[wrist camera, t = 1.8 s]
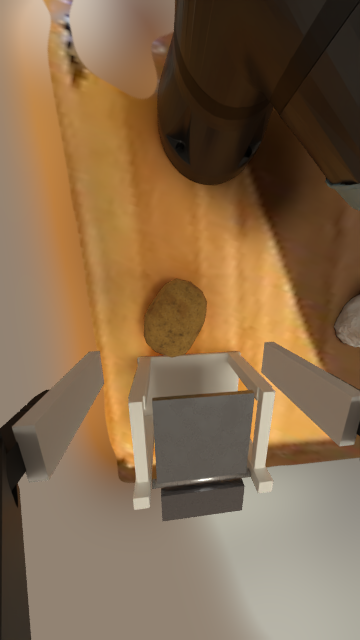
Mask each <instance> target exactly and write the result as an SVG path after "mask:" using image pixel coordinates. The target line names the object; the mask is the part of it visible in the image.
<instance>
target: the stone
mask: <svg viewBox="0 0 360 640" xmlns="http://www.w3.org/2000/svg"><path fill="white" fill-rule="evenodd" d="M334 328H335V330H336V334H337V335H336V336H337V337H338V338H339V339H340V340H341V341H342V342H343V343H347V344H349V345H351V346H354V347H360V294H359V295H357V296H356V297H354V298H352V299H351V300H350V301H349V302H347V303H346V305H345V306H344V308H343V309H342V311H341V313H340V315H339V317H338V318H337V321H336V323H335V326H334Z"/></svg>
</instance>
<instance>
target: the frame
mask: <svg viewBox="0 0 360 640" xmlns="http://www.w3.org/2000/svg"><path fill="white" fill-rule="evenodd" d="M137 360H138V367H137V370H136V374H135V377H134V380H133V384H132V387H131V390H130V394H129V397H128V398H129V413H130V423H131V432H132V442H133V452H134V461H135V471H136V482H135V489H134V496H133V502H134V509H135V510H136V509H143V508H149V507H150V496H151V479H152V463H153V447H154V423H153V408H152V398H155V397H168V396H181V395H194V394H207V393H220V392H233V391H238V379H239V378H240V379H241V381H242V382H243V383H244V385H245V386H246V387H247V389H248V390H253V392H254V393H255V395H254V398H255V399H256V400H258V404H257V413H256V422H255V430H254V439H253V443H252V441H251V439H250V442H249V451H248V461H247V468H249V469H250V472H251V478H252V481H253V483H254V485H255V487H256V490H257V492H258V493H264V492H271V491H272V485H273V480H272V478H271V476H270V474H269V472H268V470H267V469H266V467H265V462H266V455H267V448H268V441H269V434H270V426H271V419H272V412H273V405H274V398H275V391H274V390H273V388H272V386H271V385H270V384H269V383H268V382H267V381H266V380H265V379H264V378H263V377H262V376H261V375H260V374H259V373H258V372H257V371H256V370H255V369H254V368H253V367H252V366H251V365H250V364H249V363H248V362H247V361H246V360H245V359H244V358H243V357H242V356H241V355H240V352H239V351H237V352H219V353H201V354H185V355H181V356H177V357H172V358H171V357H169V356H166V355H164V356H146V357H138V358H137Z"/></svg>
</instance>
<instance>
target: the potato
mask: <svg viewBox="0 0 360 640" xmlns="http://www.w3.org/2000/svg"><path fill="white" fill-rule="evenodd" d="M206 306H207V301H206V299H205V297H204V294H203V292H202V291H201V290H200V289H199V288H198V287H196V286H195V285H194V284H193V283H191V282H189V281H184V280H180V279H174V280H172V281H170V282H168V283H166V284H165V285H164V286H163V287H162V289H161V290H160V291H159V292H158V294H157V295H156V297H155V298H154V300H153V301H152V303H151V304H150V305H149V307H148V309H147V312H146V314H145V321H144V337H145V340H146V343H147V344H148V345H149V346H150V347H151V348H152V349H153V350H154V351H155V352H158V353H160V354H163V355H166V356H169V357H171V358H172V357H177V356H181V355H185V353H186V352H187V351H188V350H189V349H190V347H191V346H192V344H193V342H194V341H195V339H196V337H197V335H198V334H199V332H200V330H201V328H202V326H203V324H204V321H205V316H206Z"/></svg>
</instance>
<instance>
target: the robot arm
mask: <svg viewBox="0 0 360 640" xmlns="http://www.w3.org/2000/svg"><path fill="white" fill-rule="evenodd" d="M273 106H274V108H275V109H276V110H277V112H278V113H279V115H280V117H281V118H282V119H283V121H284V122H285V123H286V124H287V126H288V127H289V128H290V130H291V131H292V132H293V133H294V135H295V136H296V137H297V139H298V140H299V141H300V142H301V144H302V145H303V146H304V148H305V149H306V150H307V152H308V153H309V155H310V156H311V157H312V159H313V160H314V161H315V163H316V164H317V166H318V167H319V168H320V170H321V171H322V172H323V174H324V175H325V177H326V181H325V182H326V184H327V185H328V186H329V187H330V188H332V189H335V190H336V191H337V192H338V193H339V194H340V195H341V196H342V198H343V199H344V200H345V201H346V202H347V203H348V204H349V205H350V206H351V207H352V208H354V209H356V210H359V211H360V0H175V22H174V33H173V37H172V40H171V44H170V47H169V51H168V54H167V58H166V61H165V65H164V68H163V72H162V75H161V79H160V83H159V90H158V101H157V110H158V127H159V134H160V138H161V142H162V145H163V147H164V150H165V152H166V154H167V156H168V158H169V159H170V161H171V162H172V164H173V165H174V166H175V167H176V168H177V169H178V171H180V172H181V173H182V174H183V175H184V176H186V177H187V178H189V179H191V180H193V181H195V182H198V183H201V184H208V185H213V184H220V183H223V182H226V181H228V180H230V179H232V178H234V177H235V176H236V175H238V174H239V173H240V172H241V171H242V170H243V169H244V168H245V167H246V165H247V164H248V163H249V161H250V160H251V158H252V157H253V156H254V154H255V153H256V151H257V149H258V147H259V145H260V143H261V141H262V139H263V137H264V134H265V131H266V128H267V124H268V121H269V118H270V115H271V112H272V108H273ZM261 372H262V373H263V374H264V375H265V376H266V377H267V378H268V379H269V380H270V381H271V382H272V383H273V384H274V385H275V386H276V387H277V388H278V389H280V390H281V391H282V392H283V393H284V394H285V395H286V396H287V397H288V398H289V399H290V400H291V401H292V402H293V403H294V404H295V405H296V406H297V407H299V408H300V409H301V410H302V411H303V412H304V413H305V414H306V415H307V416H308V417H309V418H310V419H311V420H312V421H313V422H314V423H315V424H316V425H318V426H319V427H320V428H321V429H322V430H323V431H324V432H325V433H326V434H327V435H328V436H329V437H330V438H331V439H332V440H333V441H334V442H335V443H337V444H338V445H339V446H346V445H354V442H355V439H356V435H357V434H358V435H359V436H360V390H359V389H357V388H355V387H354V386H352V385H350V384H348V383H346V382H345V381H343V380H340V379H339V378H338V377H336V376H334V375H332V374H330V373H328V372H326V371H324V370H322V369H320V368H319V367H317V366H315V365H313V364H312V363H310V362H308V361H306V360H305V359H303V358H301V357H299V356H297V355H296V354H294V353H292V352H290V351H289V350H287V349H285V348H283V347H282V346H280V345H278V344H276V343H275V342H265V344H264V353H263V362H262V371H261ZM103 384H104V379H103V372H102V365H101V357H100V351H94V352H88V353H87V354H86V355H85V356H84V357H83V358H82V359H81V360H80V361H79V362H78V363H77V364H76V365H75V366H74V367H73V368H72V369H71V370H70V371H69V372H68V373H67V374H66V375H65V376H64V377H63V378H62V379H61V380H60V381H59V382H57V383H56V384H55V385H54V387H52V388H51V389H50V390H45V391H43V392H42V393H40V394H38V395H37V396H35V397H34V398H33V399H32V400H31V401H30V402H29V403H28V404H27V405H25V406H24V407H23V408H22V409H21V410H20V412H18V413H17V414H16V415H14V416H13V417H12V418H11V419H10V420H9V421H8V422H7V423H6V424H5V425H3V426H2V427H1V428H0V640H31V632H30V619H29V606H28V594H27V580H26V567H25V554H24V543H23V528H22V515H21V503H20V490H19V486H18V481H19V480H20V479H21V477H22V476H23V474H24V473H25V472H26V474H27V478H28V481H29V482H38V481H47V480H49V479H50V477H51V475H52V474H53V472H54V471H55V469H56V467H57V465H58V464H59V462H60V460H61V458H62V456H63V455H64V453H65V451H66V449H67V448H68V446H69V444H70V442H71V441H72V439H73V437H74V435H75V434H76V432H77V430H78V428H79V427H80V425H81V423H82V421H83V420H84V418H85V416H86V414H87V413H88V411H89V409H90V407H91V405H92V404H93V402H94V400H95V398H96V397H97V395H98V393H99V392H100V390H101V388H102V386H103Z"/></svg>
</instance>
